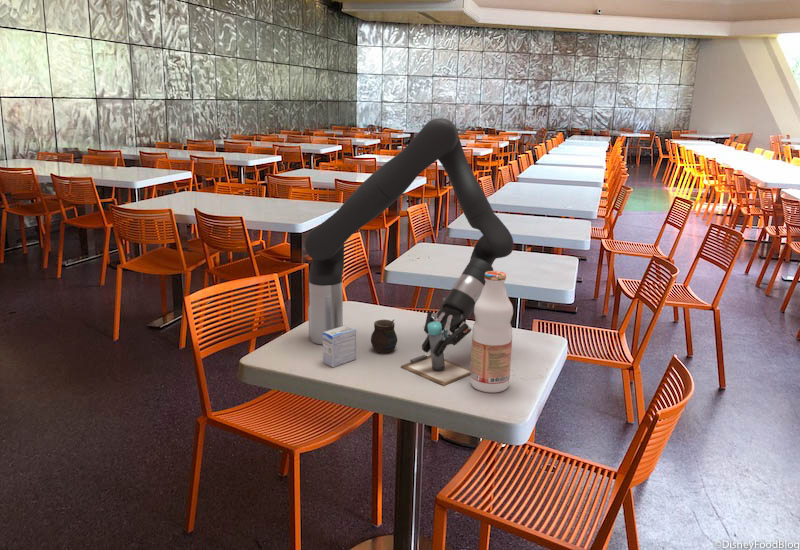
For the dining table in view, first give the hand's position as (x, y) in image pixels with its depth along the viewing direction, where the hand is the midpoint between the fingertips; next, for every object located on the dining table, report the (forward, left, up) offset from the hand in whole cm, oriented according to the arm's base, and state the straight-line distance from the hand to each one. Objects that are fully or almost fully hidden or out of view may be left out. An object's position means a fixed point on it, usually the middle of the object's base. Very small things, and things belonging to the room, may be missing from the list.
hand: (430, 352), depth 158 cm
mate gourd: (-20, +3, -6) cm, 21 cm away
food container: (-15, +24, -6) cm, 29 cm away
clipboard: (-1, +4, -6) cm, 7 cm away
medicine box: (-22, -11, -6) cm, 25 cm away
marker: (0, +4, -5) cm, 6 cm away
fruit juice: (+14, +7, -6) cm, 16 cm away
